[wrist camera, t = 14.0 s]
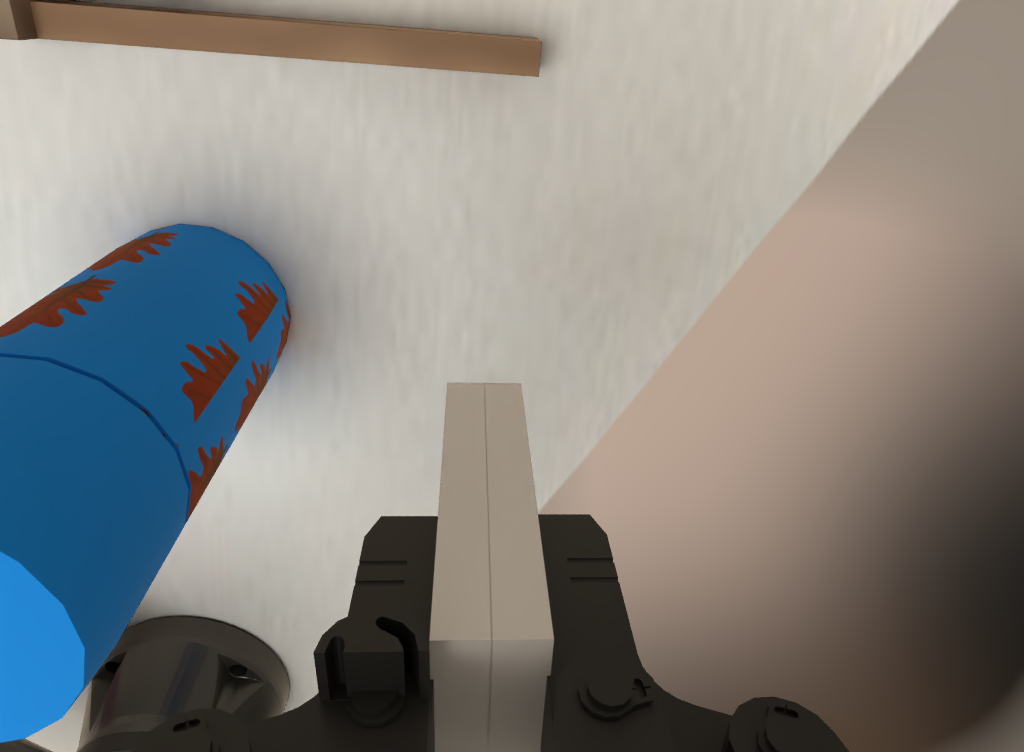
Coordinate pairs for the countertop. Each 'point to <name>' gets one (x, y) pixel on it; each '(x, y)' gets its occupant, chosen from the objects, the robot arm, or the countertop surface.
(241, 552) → the countertop surface
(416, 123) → the countertop surface
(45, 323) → the thermos
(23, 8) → the guide lane
